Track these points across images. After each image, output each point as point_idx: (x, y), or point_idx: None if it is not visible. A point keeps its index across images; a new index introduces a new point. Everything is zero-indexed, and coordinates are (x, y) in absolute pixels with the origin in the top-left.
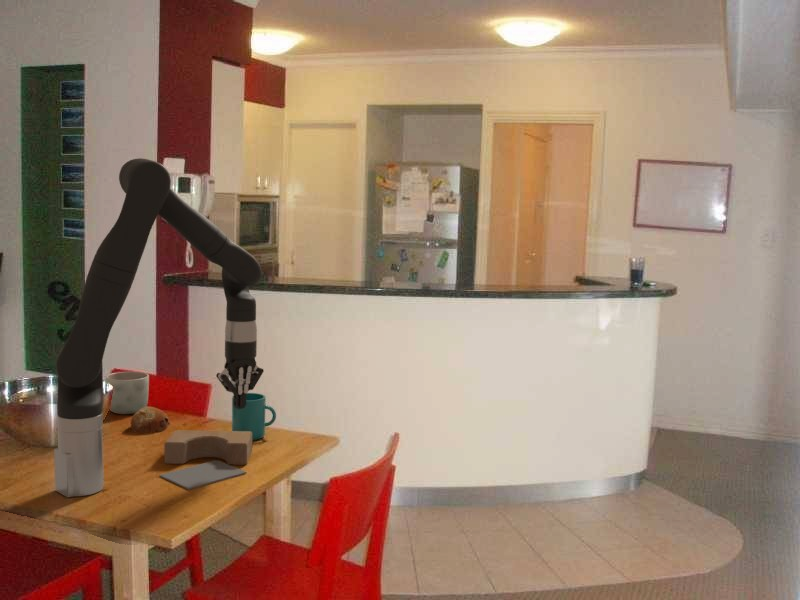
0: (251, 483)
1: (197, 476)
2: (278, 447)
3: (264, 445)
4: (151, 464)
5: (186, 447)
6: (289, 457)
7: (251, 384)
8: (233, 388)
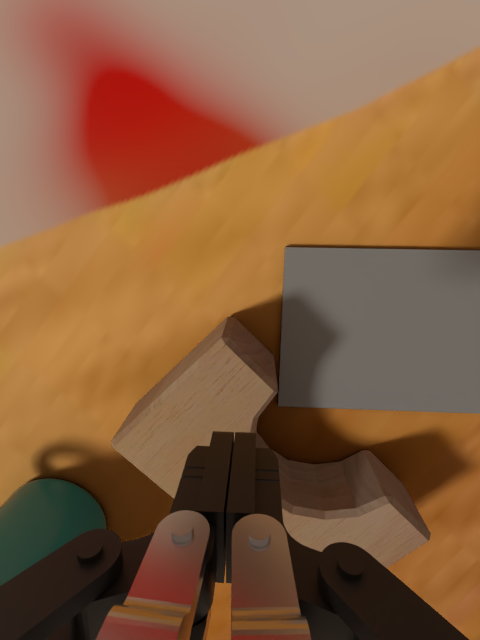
0: (339, 150)
1: (428, 323)
2: (41, 381)
3: (67, 425)
4: (427, 504)
5: (362, 488)
6: (69, 278)
7: (78, 592)
8: (373, 598)
